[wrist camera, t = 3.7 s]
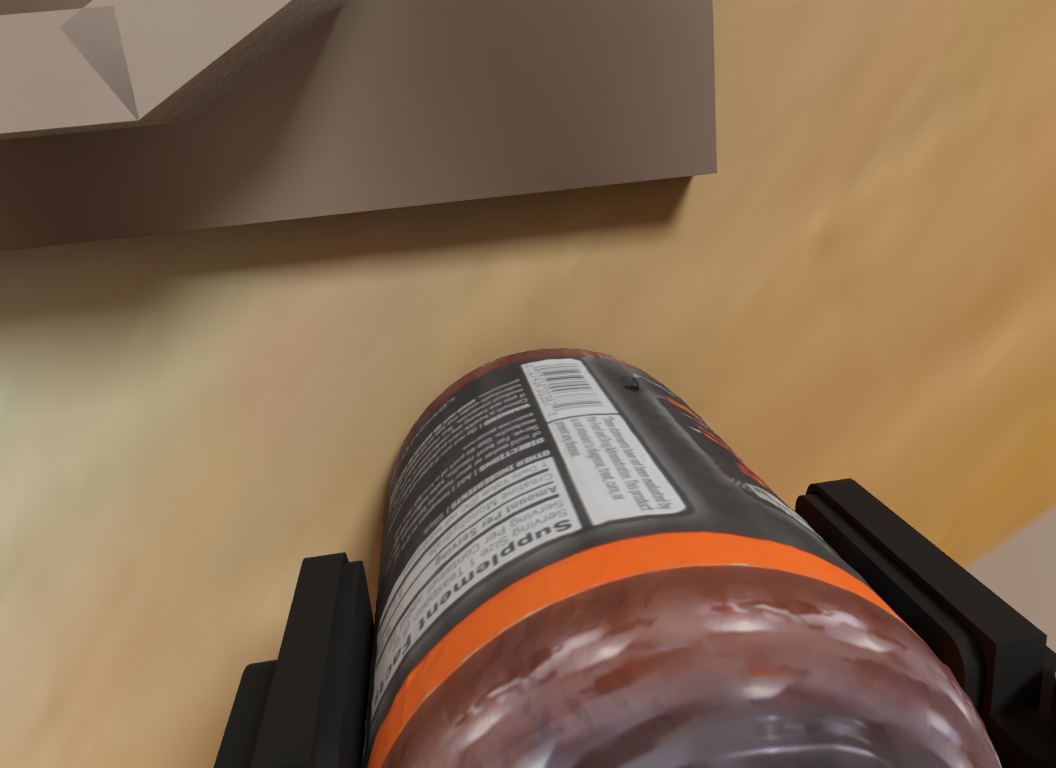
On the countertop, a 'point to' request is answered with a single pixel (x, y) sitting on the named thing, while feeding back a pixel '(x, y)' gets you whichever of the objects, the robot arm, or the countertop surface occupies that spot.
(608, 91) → the holder board
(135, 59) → the steel collar
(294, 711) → the robot arm
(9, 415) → the countertop surface
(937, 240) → the countertop surface
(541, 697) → the supplement bottle
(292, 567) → the countertop surface
